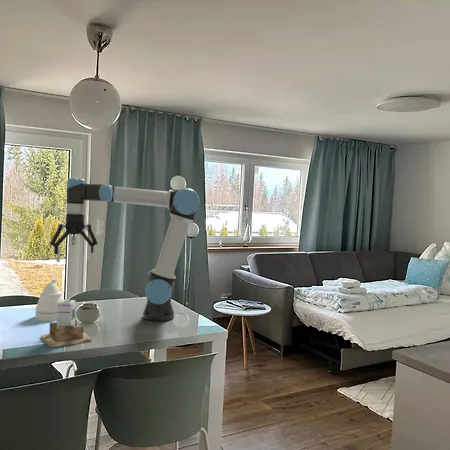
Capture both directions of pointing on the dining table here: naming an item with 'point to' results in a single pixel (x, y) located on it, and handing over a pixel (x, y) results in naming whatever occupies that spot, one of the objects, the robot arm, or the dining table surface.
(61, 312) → the syrup box
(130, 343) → the dining table surface
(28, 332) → the dining table surface
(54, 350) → the dining table surface
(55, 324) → the square wooden frame
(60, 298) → the honey pot
